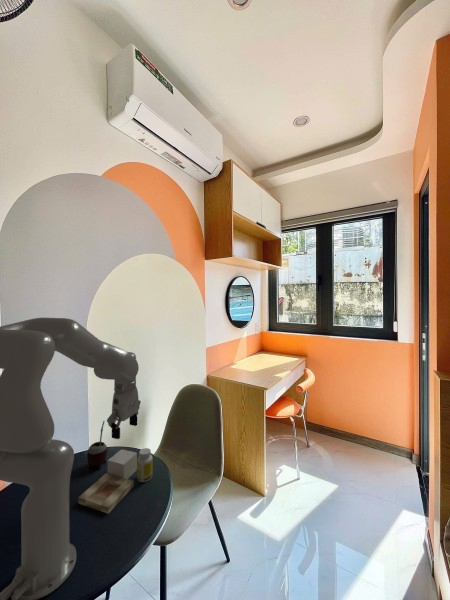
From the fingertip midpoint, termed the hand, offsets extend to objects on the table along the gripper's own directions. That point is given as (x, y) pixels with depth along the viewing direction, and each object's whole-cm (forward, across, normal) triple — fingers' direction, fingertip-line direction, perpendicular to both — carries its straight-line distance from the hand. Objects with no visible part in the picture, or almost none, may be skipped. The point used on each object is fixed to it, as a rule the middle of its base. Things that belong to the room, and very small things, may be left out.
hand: (125, 431), depth 96 cm
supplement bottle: (+16, +1, -8) cm, 18 cm away
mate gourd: (+16, +1, +14) cm, 21 cm away
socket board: (+16, -10, -1) cm, 19 cm away
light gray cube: (+16, 0, +1) cm, 16 cm away
